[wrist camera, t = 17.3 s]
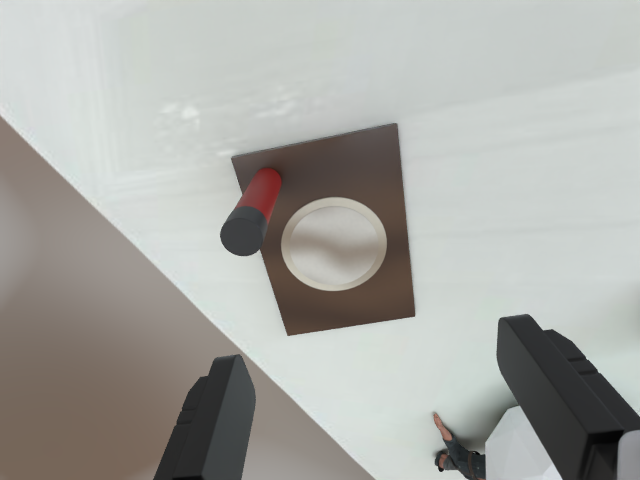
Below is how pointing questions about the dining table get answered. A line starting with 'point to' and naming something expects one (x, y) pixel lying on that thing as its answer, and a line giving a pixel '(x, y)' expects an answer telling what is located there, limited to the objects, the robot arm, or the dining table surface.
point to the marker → (252, 214)
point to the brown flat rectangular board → (336, 230)
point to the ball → (500, 453)
